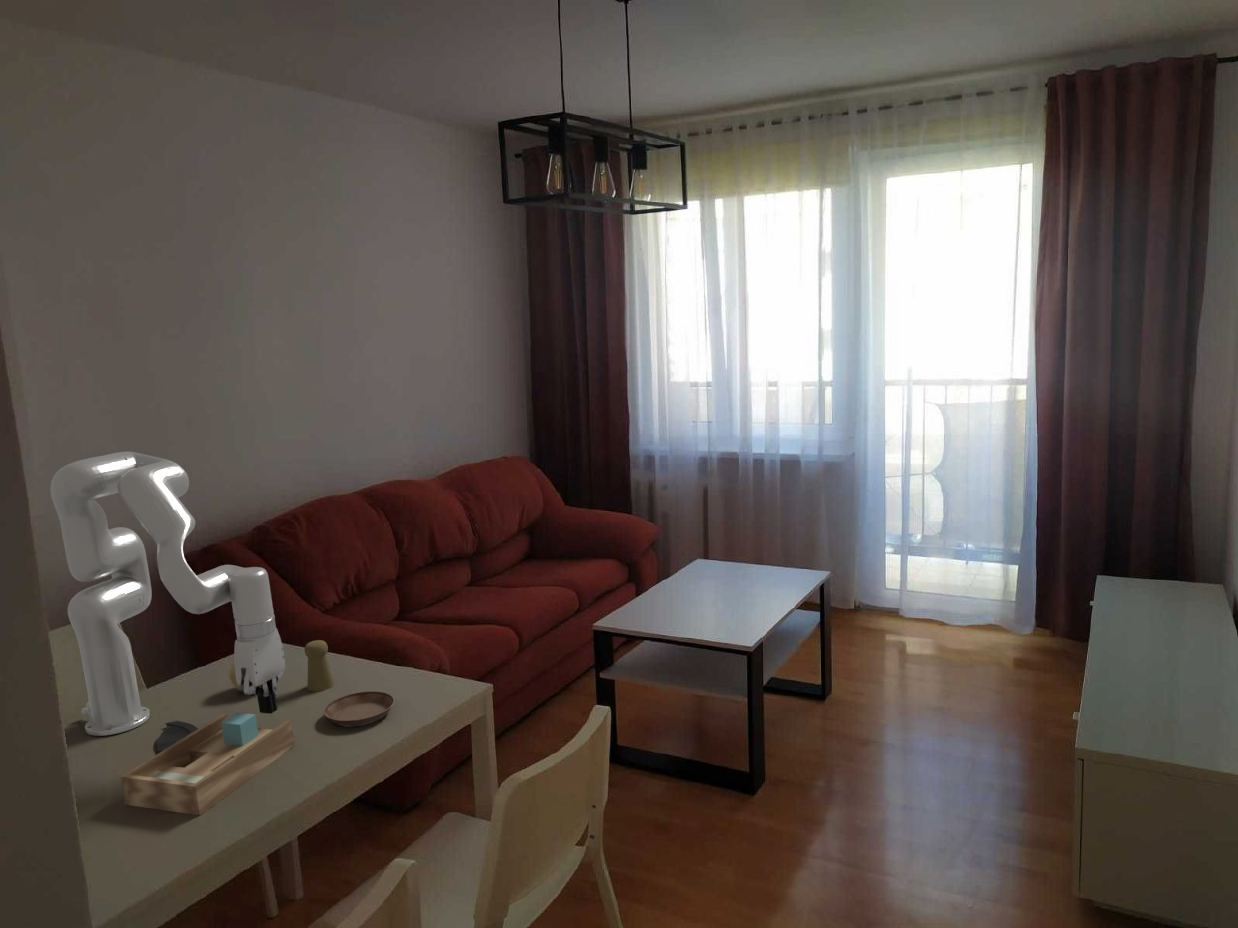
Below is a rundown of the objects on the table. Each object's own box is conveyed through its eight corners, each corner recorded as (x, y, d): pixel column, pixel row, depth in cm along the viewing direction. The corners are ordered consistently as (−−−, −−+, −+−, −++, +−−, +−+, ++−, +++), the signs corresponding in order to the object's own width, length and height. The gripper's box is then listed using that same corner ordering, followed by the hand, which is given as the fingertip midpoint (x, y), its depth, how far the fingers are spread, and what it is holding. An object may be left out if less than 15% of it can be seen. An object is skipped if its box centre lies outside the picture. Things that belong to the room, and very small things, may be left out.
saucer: (383, 695, 205) (381, 684, 204) (405, 718, 193) (403, 706, 192) (317, 714, 197) (315, 702, 197) (336, 739, 185) (334, 726, 184)
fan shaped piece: (199, 721, 198) (198, 714, 198) (201, 746, 186) (200, 739, 186) (157, 731, 194) (156, 723, 194) (156, 756, 182) (155, 749, 182)
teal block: (224, 743, 179) (221, 722, 178) (240, 733, 183) (237, 712, 182) (243, 745, 177) (239, 724, 176) (258, 735, 181) (255, 714, 181)
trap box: (125, 804, 164) (120, 776, 163) (227, 737, 188) (223, 713, 187) (199, 815, 158) (195, 786, 157) (294, 745, 182) (291, 720, 182)
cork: (307, 683, 214) (302, 639, 212) (334, 679, 216) (328, 635, 214) (307, 693, 208) (301, 648, 206) (334, 688, 210) (328, 644, 208)
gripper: (265, 614, 192) (277, 695, 195) (214, 640, 178) (228, 726, 181) (294, 616, 190) (306, 697, 193) (245, 642, 176) (259, 729, 179)
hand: (268, 711), depth 187 cm, fingers closed
